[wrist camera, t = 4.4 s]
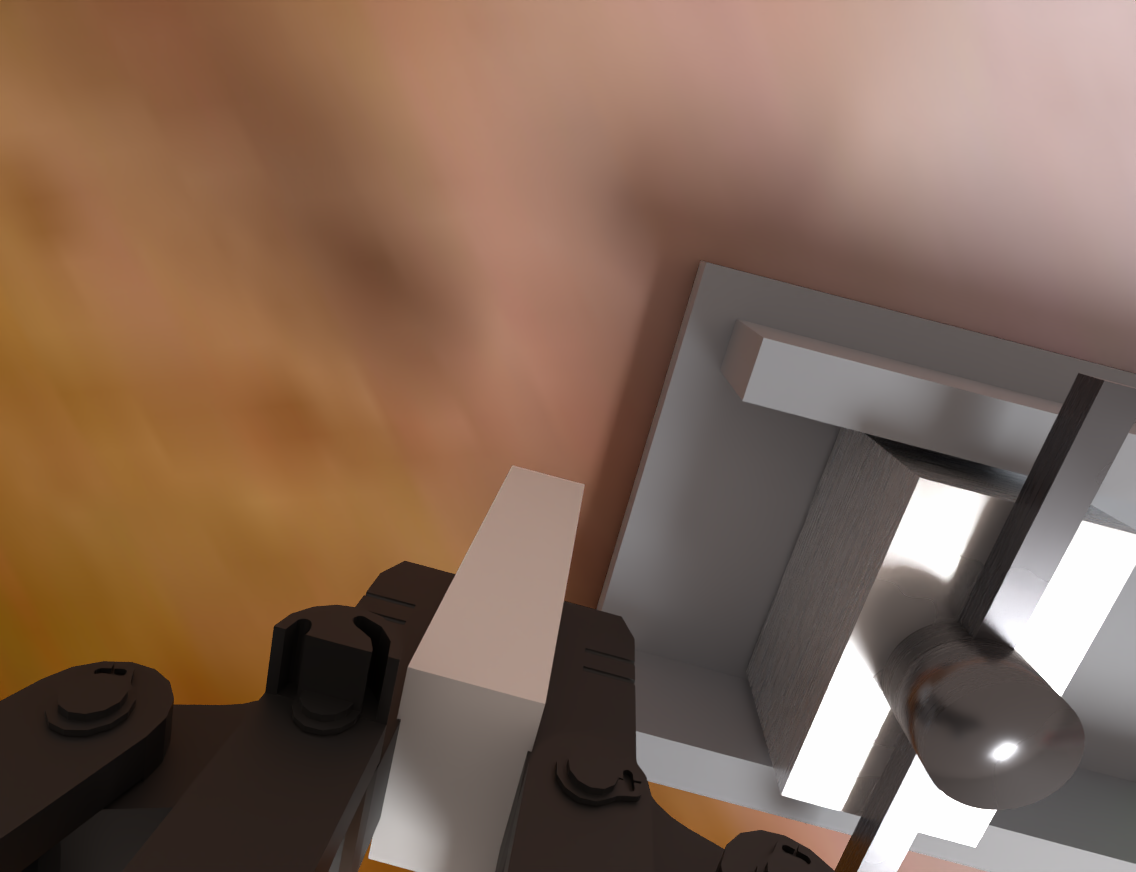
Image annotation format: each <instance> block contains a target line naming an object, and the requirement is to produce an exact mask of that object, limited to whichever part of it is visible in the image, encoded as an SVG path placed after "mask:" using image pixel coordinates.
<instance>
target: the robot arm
mask: <svg viewBox="0 0 1136 872" xmlns="http://www.w3.org/2000/svg"><path fill="white" fill-rule="evenodd" d="M584 486H585V484H581V483H578V482H574V481H570V480H566V479H563V478H559V477H555V476H551V475H548V474H544V473H540V472H536V471H532V470H529V469H525V468H521V467H517V466H514V465H512V467H511V469H510V470H509V472H508V474H507V476H506V478H505V480H504V482H503V484H502V486H501V488H500V490H499V492H498V494H497V496H496V498H495V499H494V501H493V503H492V505H491V507H490V509H489V511H488V513H487V515H486V517H485V519H484V521H483V523H482V525H481V526H480V528H479V530H478V532H477V534H476V536H475V538H474V540H473V542H472V544H471V546H470V548H469V550H468V552H467V553H466V555H465V557H464V559H463V561H462V563H461V565H460V567H459V569H458V571H457V573H456V574H452V573H448V572H445V571H441V570H437V569H434V568H430V567H426V566H422V565H419V564H415V563H411V562H407V561H404V562H402V563H400V564H398V565H396V566H394V567H392V568H390V569H388V570H386V571H384V572H382V573H380V575H379V576H378V577H377V579H376V580H375V581H374V583H373V584H372V585H371V587H370V588H369V589H368V591H367V593H366V595H365V596H363V597H362V599H361V600H360V601H359V603H358V604H357V605H356V607H349V606H342V605H329V606H316V607H311V608H308V609H305V610H302V611H299V612H295V613H292V614H290V615H289V616H287V617H286V618H285V619H283V620H282V621H280V622H279V623H278V624H276V625H275V626H274V630H273V638H272V646H271V653H270V661H269V669H268V676H267V684H266V691H265V693H264V695H263V696H262V697H261V698H260V700H259V701H254V702H250V703H245V704H234V705H173V703H174V697H173V693H172V689H171V685H170V682H169V681H168V680H167V679H166V678H165V677H163V676H162V675H161V674H160V673H159V672H158V671H156V670H155V669H152V668H149V667H146V666H143V665H139V664H136V663H133V662H107V661H103V662H97V663H92V664H86V665H81V666H75V667H71V668H69V669H66V670H63V671H61V672H58V673H56V674H53V675H51V676H48V677H46V678H43V679H41V680H39V681H37V682H36V683H34V684H32V685H30V686H28V687H26V688H24V689H22V690H20V691H18V692H17V693H15V694H13V695H11V696H9V697H7V698H5V699H3V700H1V701H0V872H358V869H359V867H360V865H361V862H362V860H363V858H364V855H365V853H366V851H367V848H368V846H369V844H370V841H371V839H372V843H371V848H370V853H369V857H368V858H369V859H372V860H376V861H380V862H383V863H387V864H391V865H394V866H398V867H402V868H405V869H409V870H413V871H416V872H835V871H834V870H833V869H832V868H831V867H829V866H828V865H827V864H826V863H825V862H824V861H823V860H822V859H820V858H819V857H818V856H817V855H816V854H815V853H814V852H812V851H811V850H810V849H808V848H807V847H805V846H803V845H801V844H799V843H797V842H796V841H794V840H792V839H790V838H788V837H786V836H784V835H780V834H776V833H771V832H767V831H763V830H758V831H751V832H745V833H740V834H739V835H738V836H737V837H735V838H734V839H733V840H732V841H731V842H729V843H728V844H727V845H726V847H725V849H723V848H721V847H720V846H718V845H716V844H714V843H713V842H711V841H709V840H707V839H706V838H704V837H702V836H700V835H699V834H697V833H695V832H693V831H692V830H690V829H688V828H687V827H685V826H684V825H682V824H681V823H679V822H678V821H676V820H675V819H673V818H672V817H671V816H670V815H669V814H668V813H666V812H665V811H664V810H663V809H662V808H661V807H660V806H659V805H658V804H657V803H656V802H655V800H654V799H653V797H652V796H651V792H650V789H649V785H648V781H647V777H646V775H645V774H644V772H643V771H642V769H641V768H640V767H639V765H638V764H637V759H636V698H635V685H634V683H635V665H634V663H635V639H634V637H633V635H632V633H631V632H630V630H629V628H628V627H627V625H626V623H625V621H624V620H623V618H622V616H618V615H614V614H611V613H607V612H603V611H600V610H596V609H592V608H588V607H585V606H581V605H577V604H573V603H570V602H566V601H564V597H565V592H566V586H567V581H568V575H569V569H570V564H571V558H572V553H573V547H574V542H575V536H576V531H577V525H578V519H579V514H580V508H581V503H582V497H583V492H584ZM372 837H373V838H372Z"/></svg>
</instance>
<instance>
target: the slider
mask: <svg viewBox="0 0 1136 872" xmlns="http://www.w3.org/2000/svg"><path fill="white" fill-rule="evenodd" d="M1135 420H1136V388H1133V387H1130V386H1126V385H1123V384H1119V383H1115V382H1111V381H1108V380H1104V379H1100V378H1096V377H1092V376H1088V375H1085V374H1081V373H1078V375H1077V377H1076V379H1075V381H1074V383H1073V385H1072V387H1071V389H1070V391H1069V393H1068V395H1067V397H1066V399H1065V401H1064V403H1063V405H1062V407H1061V409H1060V411H1059V413H1058V416H1057V418H1056V420H1055V422H1054V424H1053V426H1052V428H1051V430H1050V432H1049V434H1048V436H1047V438H1046V440H1045V442H1044V444H1043V446H1042V448H1041V450H1040V452H1039V454H1038V456H1037V458H1036V460H1035V462H1034V465H1033V467H1032V469H1031V471H1030V473H1029V475H1028V476H1027V475H1023V474H1019V473H1015V472H1012V471H1008V470H1004V469H1000V468H996V467H993V466H989V465H985V464H981V463H977V462H973V461H970V460H966V459H962V458H958V457H954V456H951V455H947V454H943V453H939V452H935V451H931V450H928V449H924V448H920V447H916V446H912V445H909V444H905V443H901V442H897V441H893V440H889V439H886V438H882V437H878V436H874V435H870V434H867V433H863V432H859V431H855V430H851V429H847V428H844V427H841V428H840V431H839V434H838V436H837V439H836V441H835V444H834V446H833V449H832V452H831V454H830V457H829V459H828V462H827V464H826V467H825V470H824V472H823V475H822V477H821V480H820V482H819V485H818V487H817V490H816V493H815V495H814V498H813V500H812V503H811V505H810V508H809V511H808V513H807V516H806V518H805V521H804V523H803V526H802V529H801V531H800V534H799V536H798V539H797V541H796V544H795V547H794V549H793V552H792V554H791V557H790V559H789V562H788V565H787V567H786V570H785V572H784V575H783V577H782V580H781V583H780V585H779V588H778V590H777V593H776V595H775V598H774V601H773V603H772V606H771V608H770V611H769V613H768V616H767V618H766V621H765V624H764V626H763V629H762V631H761V634H760V636H759V639H758V642H757V644H756V647H755V649H754V652H753V654H752V657H751V660H750V662H749V665H748V667H747V670H746V673H747V676H748V680H749V683H750V687H751V691H752V694H753V698H754V701H755V705H756V708H757V712H758V715H759V719H760V723H761V726H762V730H763V733H764V737H765V740H766V744H767V747H768V751H769V755H770V758H771V762H772V765H773V769H774V772H775V776H776V779H777V783H778V786H779V790H780V794H781V795H782V796H786V797H789V798H793V799H797V800H801V801H804V802H808V803H812V804H816V805H819V806H823V807H827V808H831V809H834V810H838V811H842V812H846V813H849V814H853V815H857V816H861V818H860V820H859V822H858V824H857V826H856V828H855V830H854V832H853V834H852V836H851V838H850V840H849V842H848V844H847V846H846V848H845V850H844V852H843V855H842V857H841V859H840V861H839V863H838V865H837V867H836V869H835V872H897V871H898V869H899V867H900V865H901V863H902V861H903V859H904V858H905V856H906V854H907V852H908V850H909V848H910V846H911V844H912V842H913V840H914V839H915V837H916V835H917V833H918V832H921V833H924V834H928V835H932V836H936V837H939V838H943V839H947V840H951V841H955V842H958V843H962V844H966V845H970V846H973V847H976V845H977V843H978V842H979V840H980V838H981V836H982V835H983V833H984V831H985V829H986V827H987V826H988V824H989V822H990V820H991V819H992V817H993V815H994V813H995V812H996V810H1007V809H1014V808H1020V807H1024V806H1027V805H1030V804H1033V803H1035V802H1038V801H1040V800H1042V799H1044V798H1046V797H1048V796H1050V795H1051V794H1053V793H1054V792H1056V791H1057V790H1058V789H1059V788H1061V787H1062V786H1063V785H1064V784H1065V783H1066V782H1067V781H1068V780H1069V779H1070V778H1071V777H1072V775H1073V774H1074V772H1075V771H1076V770H1077V768H1078V766H1079V764H1080V762H1081V759H1082V756H1083V753H1084V747H1085V735H1084V729H1083V726H1082V723H1081V721H1080V719H1079V717H1078V716H1077V714H1076V712H1075V711H1074V710H1073V709H1072V708H1071V706H1070V705H1069V704H1068V703H1067V702H1066V701H1065V700H1064V699H1063V698H1062V697H1061V695H1062V693H1063V692H1064V690H1065V688H1066V686H1067V685H1068V683H1069V681H1070V679H1071V677H1072V676H1073V674H1074V672H1075V670H1076V669H1077V667H1078V665H1079V663H1080V662H1081V660H1082V658H1083V656H1084V655H1085V653H1086V651H1087V649H1088V647H1089V646H1090V644H1091V642H1092V640H1093V639H1094V637H1095V635H1096V633H1097V632H1098V630H1099V628H1100V626H1101V625H1102V623H1103V621H1104V619H1105V617H1106V616H1107V614H1108V612H1109V610H1110V609H1111V607H1112V605H1113V603H1114V602H1115V600H1116V598H1117V596H1118V595H1119V593H1120V591H1121V589H1122V587H1123V586H1124V584H1125V582H1126V580H1127V579H1128V577H1129V575H1130V573H1131V572H1132V570H1133V568H1134V566H1135V565H1136V530H1135V529H1133V528H1131V527H1130V526H1128V525H1126V524H1124V523H1123V522H1121V521H1119V520H1117V519H1115V518H1114V517H1112V516H1110V515H1108V514H1107V513H1105V512H1103V511H1101V510H1100V509H1098V508H1096V507H1094V506H1093V505H1091V503H1092V501H1093V499H1094V497H1095V496H1096V494H1097V492H1098V490H1099V488H1100V486H1101V484H1102V482H1103V480H1104V479H1105V477H1106V475H1107V473H1108V471H1109V469H1110V467H1111V465H1112V463H1113V461H1114V460H1115V458H1116V456H1117V454H1118V452H1119V450H1120V448H1121V446H1122V444H1123V443H1124V441H1125V439H1126V437H1127V435H1128V433H1129V431H1130V429H1131V427H1132V425H1133V424H1134V422H1135Z"/></svg>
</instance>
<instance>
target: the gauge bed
mask: <svg viewBox="0 0 1136 872" xmlns="http://www.w3.org/2000/svg"><path fill="white" fill-rule="evenodd" d="M1078 373H1081V374H1085V375H1088V376H1092V377H1096V378H1100V379H1104V380H1108V381H1111V382H1115V383H1119V384H1123V385H1126V386H1130V387H1133V388H1136V374H1135V373H1131V372H1127V371H1123V370H1119V369H1116V368H1112V367H1108V366H1104V365H1100V364H1096V363H1093V362H1089V361H1085V360H1081V359H1077V358H1073V357H1070V356H1066V355H1062V354H1058V353H1054V352H1050V351H1046V350H1043V349H1039V348H1035V347H1031V346H1027V345H1023V344H1020V343H1016V342H1012V341H1008V340H1004V339H1000V338H997V337H993V336H989V335H985V334H981V333H977V332H974V331H970V330H966V329H962V328H958V327H954V326H950V325H947V324H943V323H939V322H935V321H931V320H927V319H924V318H920V317H916V316H912V315H908V314H904V313H901V312H897V311H893V310H889V309H885V308H881V307H878V306H874V305H870V304H866V303H862V302H858V301H854V300H851V299H847V298H843V297H839V296H835V295H831V294H828V293H824V292H820V291H816V290H812V289H808V288H805V287H801V286H797V285H793V284H789V283H785V282H782V281H778V280H774V279H770V278H766V277H762V276H758V275H755V274H751V273H747V272H743V271H739V270H735V269H732V268H728V267H724V266H720V265H716V264H712V263H709V262H705V261H700V264H699V267H698V271H697V274H696V277H695V281H694V284H693V287H692V291H691V294H690V297H689V301H688V304H687V307H686V311H685V314H684V317H683V321H682V324H681V328H680V331H679V334H678V338H677V341H676V344H675V348H674V351H673V354H672V358H671V361H670V364H669V368H668V371H667V374H666V378H665V381H664V384H663V388H662V391H661V394H660V398H659V401H658V405H657V408H656V411H655V415H654V418H653V421H652V425H651V428H650V431H649V435H648V438H647V441H646V445H645V448H644V451H643V455H642V458H641V461H640V465H639V468H638V471H637V475H636V478H635V481H634V485H633V488H632V492H631V495H630V498H629V502H628V505H627V508H626V512H625V515H624V518H623V522H622V525H621V528H620V532H619V535H618V538H617V542H616V545H615V548H614V552H613V555H612V558H611V562H610V565H609V569H608V572H607V575H606V579H605V582H604V585H603V589H602V592H601V595H600V599H599V602H598V605H597V609H596V610H600V611H603V612H607V613H611V614H614V615H618V616H622V618H623V620H624V621H625V623H626V625H627V627H628V628H629V630H630V632H631V633H632V635H633V637H634V639H635V663H634V665H635V683H634V685H635V698H636V759H637V764H638V765H639V767H640V768H641V769H642V771H643V772H644V774H645V775H646V777H647V781H650V782H654V783H658V784H661V785H665V786H669V787H673V788H676V789H680V790H684V791H688V792H691V793H695V794H699V795H703V796H706V797H710V798H714V799H718V800H721V801H725V802H729V803H733V804H736V805H740V806H744V807H748V808H751V809H755V810H759V811H763V812H766V813H770V814H774V815H778V816H781V817H785V818H789V819H793V820H796V821H800V822H804V823H808V824H811V825H815V826H819V827H823V828H826V829H830V830H834V831H838V832H841V833H845V834H849V835H852V834H853V832H854V830H855V828H856V826H857V824H858V822H859V820H860V818H861V816H857V815H853V814H849V813H846V812H842V811H838V810H834V809H831V808H827V807H823V806H819V805H816V804H812V803H808V802H804V801H801V800H797V799H793V798H789V797H786V796H782V795H781V794H780V790H779V786H778V783H777V779H776V776H775V772H774V769H773V765H772V762H771V758H770V755H769V751H768V747H767V744H766V740H765V737H764V733H763V730H762V726H761V723H760V719H759V715H758V712H757V708H756V705H755V701H754V698H753V694H752V691H751V687H750V683H749V680H748V676H747V673H746V670H747V667H748V665H749V662H750V660H751V657H752V654H753V652H754V649H755V647H756V644H757V642H758V639H759V636H760V634H761V631H762V629H763V626H764V624H765V621H766V618H767V616H768V613H769V611H770V608H771V606H772V603H773V601H774V598H775V595H776V593H777V590H778V588H779V585H780V583H781V580H782V577H783V575H784V572H785V570H786V567H787V565H788V562H789V559H790V557H791V554H792V552H793V549H794V547H795V544H796V541H797V539H798V536H799V534H800V531H801V529H802V526H803V523H804V521H805V518H806V516H807V513H808V511H809V508H810V505H811V503H812V500H813V498H814V495H815V493H816V490H817V487H818V485H819V482H820V480H821V477H822V475H823V472H824V470H825V467H826V464H827V462H828V459H829V457H830V454H831V452H832V449H833V446H834V444H835V441H836V439H837V436H838V434H839V431H840V428H841V427H844V428H847V429H851V430H855V431H859V432H863V433H867V434H870V435H874V436H878V437H882V438H886V439H889V440H893V441H897V442H901V443H905V444H909V445H912V446H916V447H920V448H924V449H928V450H931V451H935V452H939V453H943V454H947V455H951V456H954V457H958V458H962V459H966V460H970V461H973V462H977V463H981V464H985V465H989V466H993V467H996V468H1000V469H1004V470H1008V471H1012V472H1015V473H1019V474H1023V475H1027V476H1028V475H1029V473H1030V471H1031V469H1032V467H1033V465H1034V462H1035V460H1036V458H1037V456H1038V454H1039V452H1040V450H1041V448H1042V446H1043V444H1044V442H1045V440H1046V438H1047V436H1048V434H1049V432H1050V430H1051V428H1052V426H1053V424H1054V422H1055V420H1056V418H1057V416H1058V413H1059V411H1060V409H1061V407H1062V405H1063V403H1064V401H1065V399H1066V397H1067V395H1068V393H1069V391H1070V389H1071V387H1072V385H1073V383H1074V381H1075V379H1076V377H1077V375H1078ZM1091 505H1093V506H1094V507H1096V508H1098V509H1100V510H1101V511H1103V512H1105V513H1107V514H1108V515H1110V516H1112V517H1114V518H1115V519H1117V520H1119V521H1121V522H1123V523H1124V524H1126V525H1128V526H1130V527H1131V528H1133V529H1135V530H1136V420H1135V422H1134V424H1133V425H1132V427H1131V429H1130V431H1129V433H1128V435H1127V437H1126V439H1125V441H1124V443H1123V444H1122V446H1121V448H1120V450H1119V452H1118V454H1117V456H1116V458H1115V460H1114V461H1113V463H1112V465H1111V467H1110V469H1109V471H1108V473H1107V475H1106V477H1105V479H1104V480H1103V482H1102V484H1101V486H1100V488H1099V490H1098V492H1097V494H1096V496H1095V497H1094V499H1093V501H1092V503H1091ZM1061 697H1062V698H1063V699H1064V700H1065V701H1066V702H1067V703H1068V704H1069V705H1070V706H1071V708H1072V709H1073V710H1074V711H1075V712H1076V714H1077V716H1078V717H1079V719H1080V721H1081V723H1082V726H1083V729H1084V735H1085V747H1084V753H1083V756H1082V759H1081V762H1080V764H1079V766H1078V768H1077V770H1076V771H1075V772H1074V774H1073V775H1072V777H1071V778H1070V779H1069V780H1068V781H1067V782H1066V783H1065V784H1064V785H1063V786H1062V787H1061V788H1059V789H1058V790H1057V791H1056V792H1054V793H1053V794H1051V795H1050V796H1048V797H1046V798H1044V799H1042V800H1040V801H1038V802H1035V803H1033V804H1030V805H1027V806H1024V807H1020V808H1014V809H1007V810H996V812H995V813H994V815H993V817H992V819H991V820H990V822H989V824H988V826H987V827H986V829H985V831H984V833H983V835H982V836H981V838H980V840H979V842H978V843H977V845H976V847H973V846H970V845H966V844H962V843H958V842H955V841H951V840H947V839H943V838H939V837H936V836H932V835H928V834H924V833H921V832H918V833H917V835H916V837H915V839H914V840H913V842H912V844H911V846H910V848H909V851H913V852H916V853H920V854H924V855H928V856H931V857H935V858H939V859H943V860H946V861H950V862H954V863H958V864H961V865H965V866H969V867H973V868H976V869H980V870H984V871H988V872H1136V565H1135V566H1134V568H1133V570H1132V572H1131V573H1130V575H1129V577H1128V579H1127V580H1126V582H1125V584H1124V586H1123V587H1122V589H1121V591H1120V593H1119V595H1118V596H1117V598H1116V600H1115V602H1114V603H1113V605H1112V607H1111V609H1110V610H1109V612H1108V614H1107V616H1106V617H1105V619H1104V621H1103V623H1102V625H1101V626H1100V628H1099V630H1098V632H1097V633H1096V635H1095V637H1094V639H1093V640H1092V642H1091V644H1090V646H1089V647H1088V649H1087V651H1086V653H1085V655H1084V656H1083V658H1082V660H1081V662H1080V663H1079V665H1078V667H1077V669H1076V670H1075V672H1074V674H1073V676H1072V677H1071V679H1070V681H1069V683H1068V685H1067V686H1066V688H1065V690H1064V692H1063V693H1062V695H1061Z"/></svg>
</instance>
